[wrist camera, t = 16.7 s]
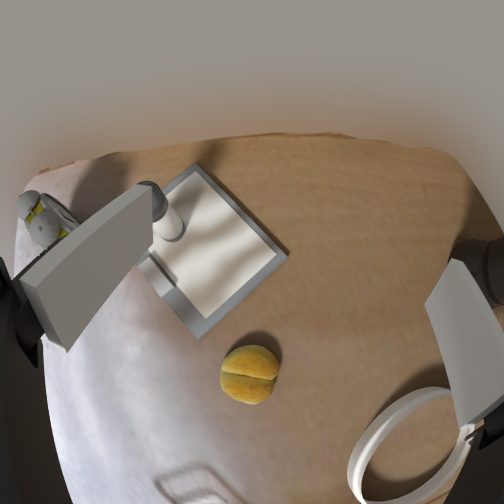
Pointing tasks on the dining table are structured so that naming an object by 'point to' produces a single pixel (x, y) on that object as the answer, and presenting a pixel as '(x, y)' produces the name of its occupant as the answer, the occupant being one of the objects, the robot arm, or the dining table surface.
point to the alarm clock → (45, 217)
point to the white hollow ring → (384, 426)
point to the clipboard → (208, 254)
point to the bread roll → (249, 374)
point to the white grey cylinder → (164, 215)
